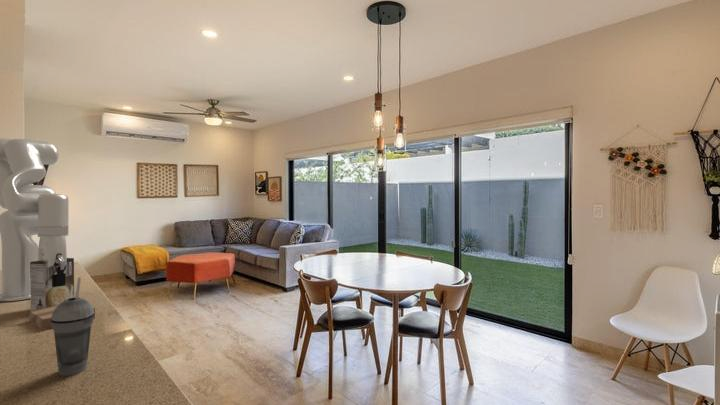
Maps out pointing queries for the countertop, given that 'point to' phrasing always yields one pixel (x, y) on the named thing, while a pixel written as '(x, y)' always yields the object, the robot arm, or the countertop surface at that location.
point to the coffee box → (49, 285)
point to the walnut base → (43, 317)
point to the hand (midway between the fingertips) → (53, 284)
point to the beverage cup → (72, 333)
